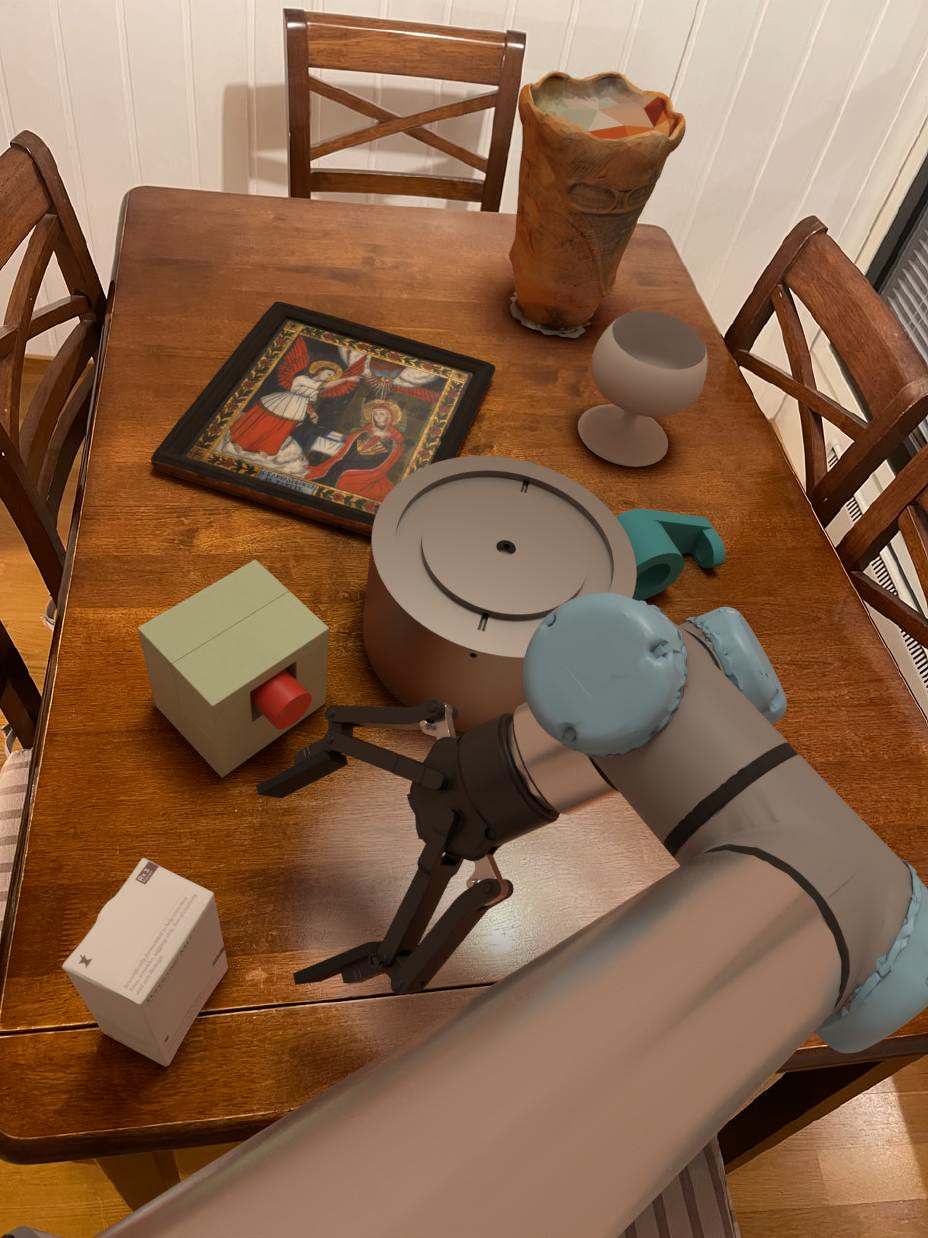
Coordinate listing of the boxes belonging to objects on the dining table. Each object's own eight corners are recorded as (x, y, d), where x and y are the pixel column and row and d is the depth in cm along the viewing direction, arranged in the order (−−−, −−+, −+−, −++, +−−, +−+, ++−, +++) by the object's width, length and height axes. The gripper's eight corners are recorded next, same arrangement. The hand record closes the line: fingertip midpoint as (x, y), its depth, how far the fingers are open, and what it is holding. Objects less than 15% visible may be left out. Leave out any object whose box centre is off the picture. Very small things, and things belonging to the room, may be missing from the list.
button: (311, 710, 77) (312, 685, 74) (275, 737, 75) (274, 712, 72) (271, 670, 79) (270, 644, 76) (234, 695, 77) (232, 669, 74)
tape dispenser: (585, 562, 101) (603, 514, 95) (694, 540, 106) (718, 493, 100) (611, 606, 98) (632, 560, 92) (722, 581, 103) (749, 535, 97)
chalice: (568, 395, 120) (598, 296, 108) (667, 410, 121) (708, 314, 109) (572, 465, 111) (605, 366, 99) (679, 480, 112) (724, 384, 101)
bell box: (325, 703, 85) (329, 628, 75) (221, 778, 78) (212, 706, 69) (259, 638, 88) (255, 558, 79) (154, 705, 82) (136, 627, 72)
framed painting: (246, 306, 121) (245, 287, 119) (496, 363, 122) (500, 345, 119) (139, 494, 97) (135, 474, 95) (451, 563, 98) (454, 546, 96)
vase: (627, 290, 139) (695, 83, 115) (612, 363, 126) (685, 147, 103) (497, 255, 139) (539, 42, 116) (469, 324, 126) (509, 100, 103)
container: (613, 580, 100) (650, 496, 90) (577, 767, 85) (617, 692, 74) (402, 519, 101) (415, 428, 91) (328, 692, 85) (333, 608, 75)
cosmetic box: (168, 1070, 64) (140, 1017, 52) (97, 1031, 65) (54, 971, 53) (232, 962, 69) (219, 893, 57) (165, 928, 70) (140, 852, 58)
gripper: (629, 959, 54) (358, 1058, 61) (504, 612, 65) (287, 731, 72) (582, 967, 48) (287, 1076, 55) (453, 582, 59) (221, 715, 66)
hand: (286, 880), depth 64 cm, fingers open, 13 cm apart
